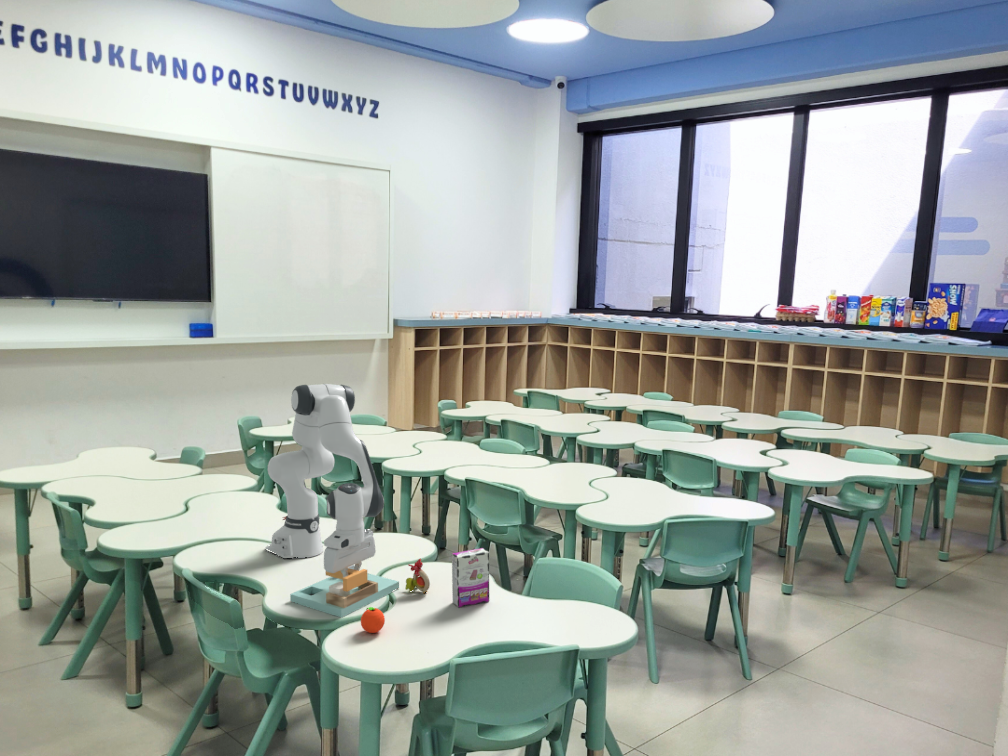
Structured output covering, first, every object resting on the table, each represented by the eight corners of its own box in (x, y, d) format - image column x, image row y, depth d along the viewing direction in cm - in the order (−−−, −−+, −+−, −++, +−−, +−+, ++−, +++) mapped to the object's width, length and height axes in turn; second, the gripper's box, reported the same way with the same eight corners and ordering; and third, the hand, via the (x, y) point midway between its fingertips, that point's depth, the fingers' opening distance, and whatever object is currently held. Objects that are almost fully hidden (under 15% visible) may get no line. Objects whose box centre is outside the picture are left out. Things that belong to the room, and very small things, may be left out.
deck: (290, 601, 244) (290, 594, 244) (349, 575, 267) (349, 568, 267) (341, 617, 233) (341, 609, 232) (399, 588, 255) (399, 581, 255)
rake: (310, 581, 244) (310, 569, 243) (331, 572, 251) (331, 560, 251) (347, 591, 235) (346, 579, 235) (367, 582, 243) (367, 569, 243)
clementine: (355, 629, 225) (354, 605, 224) (376, 623, 229) (376, 600, 228) (367, 639, 218) (366, 615, 218) (389, 633, 222) (388, 609, 222)
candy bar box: (482, 596, 250) (483, 547, 248) (489, 601, 245) (490, 552, 244) (451, 602, 245) (451, 552, 243) (457, 608, 240) (457, 557, 238)
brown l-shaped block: (326, 602, 237) (326, 593, 237) (360, 586, 250) (360, 577, 250) (344, 608, 233) (344, 598, 233) (378, 591, 246) (378, 582, 246)
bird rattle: (431, 596, 255) (413, 579, 259) (441, 569, 251) (422, 553, 255) (418, 602, 250) (399, 585, 254) (428, 575, 246) (409, 558, 251)
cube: (329, 600, 239) (328, 586, 239) (339, 595, 243) (339, 581, 243) (339, 603, 237) (339, 589, 237) (350, 598, 241) (349, 584, 240)
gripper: (365, 525, 254) (365, 566, 256) (319, 542, 237) (321, 585, 238) (379, 528, 251) (380, 569, 252) (335, 545, 233) (336, 589, 235)
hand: (351, 577), depth 245 cm, fingers closed on rake, 3 cm apart
